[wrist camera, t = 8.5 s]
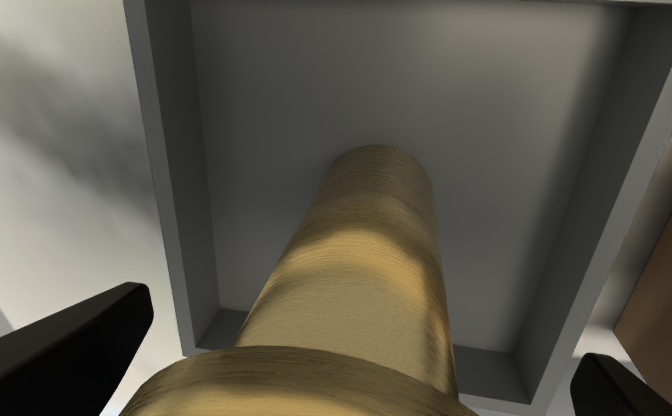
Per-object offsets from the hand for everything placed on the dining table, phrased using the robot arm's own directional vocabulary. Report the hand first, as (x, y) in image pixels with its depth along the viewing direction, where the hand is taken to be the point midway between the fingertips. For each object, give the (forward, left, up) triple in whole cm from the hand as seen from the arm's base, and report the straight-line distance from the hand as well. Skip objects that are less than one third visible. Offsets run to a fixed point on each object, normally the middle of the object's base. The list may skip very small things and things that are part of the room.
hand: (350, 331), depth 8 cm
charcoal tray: (0, 0, -7) cm, 7 cm away
